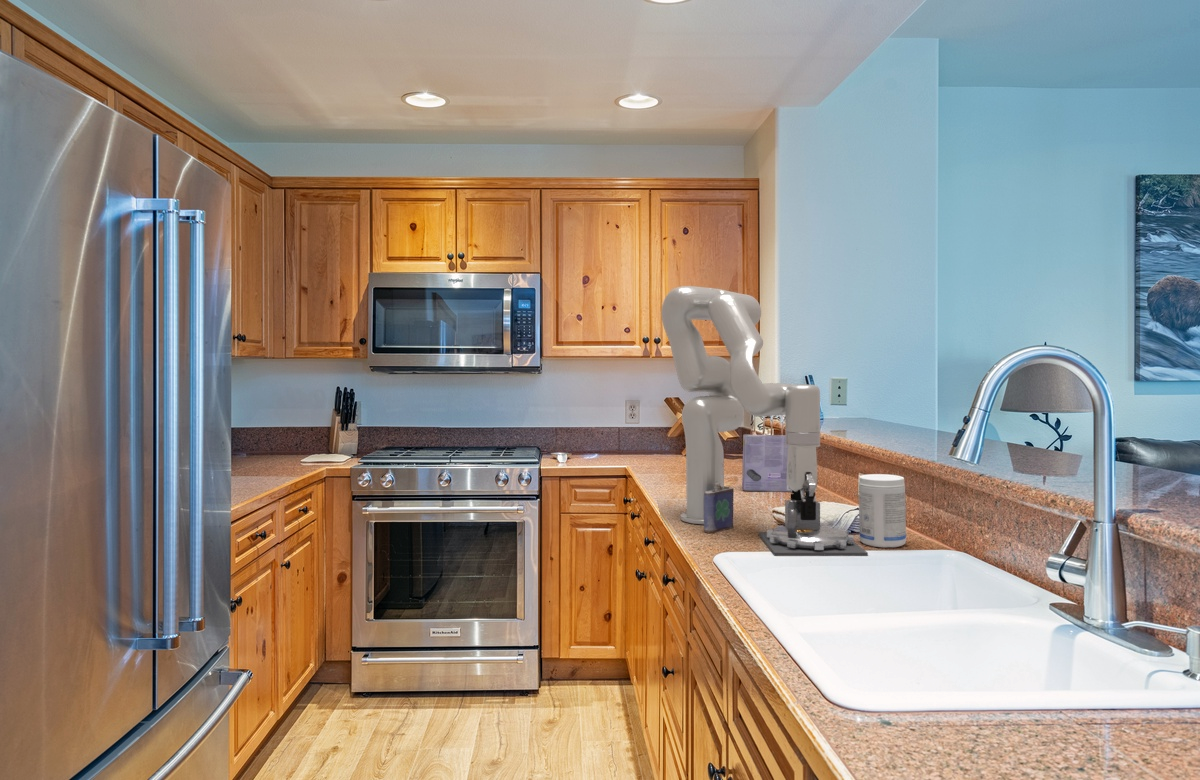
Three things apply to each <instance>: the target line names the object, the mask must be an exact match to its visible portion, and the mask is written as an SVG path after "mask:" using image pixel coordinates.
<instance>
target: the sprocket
mask: <svg viewBox="0 0 1200 780" xmlns="http://www.w3.org/2000/svg"><path fill="white" fill-rule="evenodd" d="M766 532H767V537H770V542H772V543H780V544H784V545H787V547H790V548H797V547H800V548H814V550H824V548H835V547H836V548H840V549H841V548H846V544H847V543H850V544H853V543H854V542H855V538H854V537H855V535H852V534H850V531H849V530H846V529H837V528H835V527H834V528H833V527H831V526H829V525H828V526H827V525H820V530H797V509H788V529H787V528H786V527H785V525H782V524H781V525H776V526H775V528H774V529H770V528H769V529H767V530H766Z"/></svg>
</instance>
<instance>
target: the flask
mask: <svg viewBox="0 0 1200 780" xmlns="http://www.w3.org/2000/svg"><path fill="white" fill-rule="evenodd" d="M714 483H715V487H714V488H715V490H710V491H706V492H704V524H703V531H704V533H705V534H706V533H707V534H711V533H712V534H713V533H714V534H715V533H717V532H722V531H725V530H727V529H729V530H731V529H733V528H734V495H735V494H734V492H735V491H734V488H732V487H730V486H725V485H724V486H723V487H724V488H723V487H721V486H720V484H721V483H720V482H717V481H716V482H714ZM714 483H713V484H714Z"/></svg>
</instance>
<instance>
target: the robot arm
mask: <svg viewBox="0 0 1200 780" xmlns="http://www.w3.org/2000/svg"><path fill="white" fill-rule="evenodd" d="M660 314H661V320H662V326H663V329H664V332H665V334H666V337H667V340H668V343H669V346H670V350H671V355H672V359H673V362H674V367H675V371H676V375H677V377H678V382H679V385H680V387H681V389H683V390H684V391H686V392H687V393H708V395H699V396H696V397H693V398H691V399H689V400H688V401H687V402H686V403H685V404H684V405H683V408H682V410H681V420H682V426H683V431H684V439H685V462H686V463H685V464H686V466H685V467H686V469H685V471H686V478H685V481H686V483H685V484H686V511H685V512H683V513H681V514H680V520H681V521H682V522H685V523H689V524H695V525H704V492H706V491H710V490H715V488H714V487H715V483H714V482H716V481H717V482H720V483H721V484H720V486H721V487H723V486H725V465H724V463H725V457H724V453H725V452H724V447H723V443H722V441H721V438H720V435H719V433H725V432H732V431H735V430H737V429H738V428H739V427H740V426H741V425H742V424H743V421H744V417H745V411H746V412H747V413H748V414H750V415H751V416H753V417H759V418H761V417H770V416H771V417H773V416H774V417H776V416H785V417H784V418H785V419H784V420H785V435H784V436H785V445H786V446H788V455H787V477H786V484H787V486H788V487H789V488H791V492H790V500H802V502H800V516H801V520H815V519H816V501H817V498H816V491H817V488H818V457H817V456H818V455H817V448H819V447H821V390H820V387H818V386H817V385H816V384H801V383H800V384H791V383H786V382H785V383H783V382H781V383H780V382H775V383H774V382H771V383H770V382H769V383H767V382H766V383H764V382H762V381H761V379H760V377H759V375H758V373H757V372H756V370H755V367H754V362H753V361H754V360H753V358H754V357H755V356H756V355H757V354H758V353H759V352H760V351H761V350H762V349H763V346H764V340H763V338H762V336H761V334H760V332H759V331H758V329H757V327H756V325H757V324H758V323H759V321H760V320H761V317H762V308H761V304H760V303H759V302H758V300H757V299H756V298H755V297H754V296H753V295H750V294H746V293H744V294H743V293H739V292H735V291H729V290H725V289H720V288H714V287H705V286H704V287H703V286H695V285H681V286H677V287H675V288H673V289H671V290H670V291H669V292H668V293H667V295H666V296H665V297H664V300H663V302H662V307H661V313H660ZM693 320H698V321H711V322H712V324H713V325H714V327H715V329H716V332H717V333H718V335H719V337H720V339H721V340H722V343H723V344H724V346H725V348H726V350H727V352H728V354H729V356H730V362H729V361H728V360H727V359H726V358H724V357H722V356H719V355H708V353H707V351H706V347H705V344H704V340H703V337H702V335H701V333H700V331H699V330H698V329H697V327H696V325H694V323H693ZM744 410H745V411H744ZM713 483H714V484H713ZM723 488H724V487H723Z"/></svg>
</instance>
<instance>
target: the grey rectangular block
mask: <svg viewBox="0 0 1200 780" xmlns="http://www.w3.org/2000/svg"><path fill="white" fill-rule="evenodd" d="M800 502H802V500H791V499H788V500H784V526H785V527H786V528H787V529H788V509H797V530H820V526H821V502H819V501H818V500H816V519H815V520H801V516H800Z"/></svg>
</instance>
